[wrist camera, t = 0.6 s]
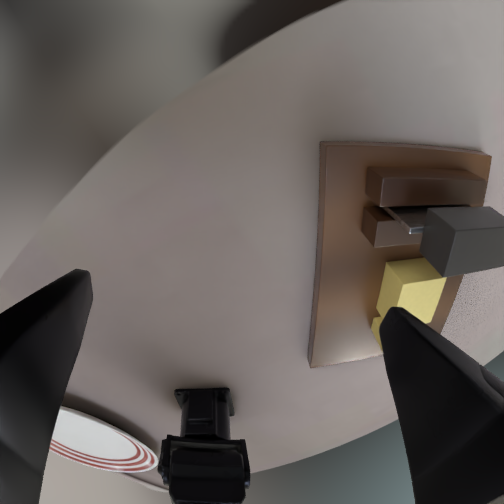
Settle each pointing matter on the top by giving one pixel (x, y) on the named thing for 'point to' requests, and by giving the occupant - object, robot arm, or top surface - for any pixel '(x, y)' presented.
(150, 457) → the dinner plate
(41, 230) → the top surface
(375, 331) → the butter slice
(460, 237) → the dark grey block
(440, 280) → the butter stick
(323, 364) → the cutting board
